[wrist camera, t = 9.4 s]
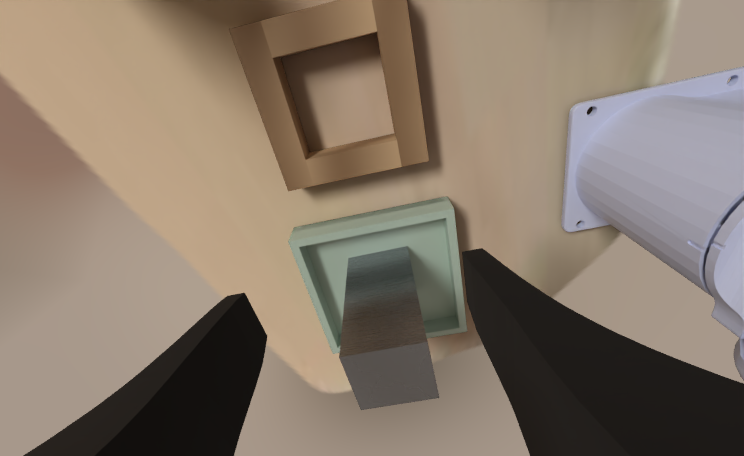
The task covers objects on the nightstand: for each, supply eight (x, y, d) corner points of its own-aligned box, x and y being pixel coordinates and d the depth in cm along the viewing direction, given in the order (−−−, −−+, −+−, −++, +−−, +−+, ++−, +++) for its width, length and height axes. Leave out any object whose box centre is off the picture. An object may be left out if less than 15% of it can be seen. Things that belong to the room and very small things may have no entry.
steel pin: (407, 245, 21) (427, 341, 14) (417, 292, 23) (439, 397, 16) (348, 258, 22) (339, 357, 15) (362, 302, 24) (360, 409, 16)
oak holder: (401, -12, 15) (404, -18, 14) (424, 153, 19) (429, 161, 18) (240, 30, 16) (228, 29, 15) (293, 181, 20) (288, 191, 18)
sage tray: (447, 196, 20) (453, 208, 19) (460, 313, 25) (467, 331, 23) (294, 227, 21) (288, 241, 20) (335, 335, 26) (333, 353, 24)
